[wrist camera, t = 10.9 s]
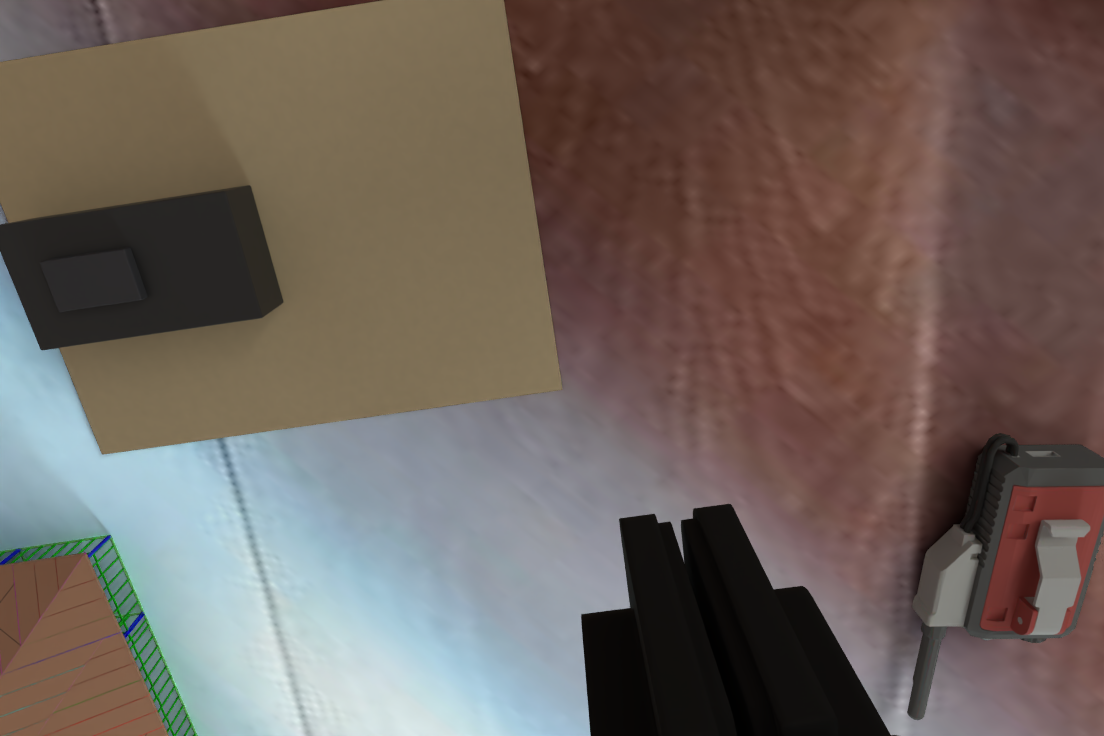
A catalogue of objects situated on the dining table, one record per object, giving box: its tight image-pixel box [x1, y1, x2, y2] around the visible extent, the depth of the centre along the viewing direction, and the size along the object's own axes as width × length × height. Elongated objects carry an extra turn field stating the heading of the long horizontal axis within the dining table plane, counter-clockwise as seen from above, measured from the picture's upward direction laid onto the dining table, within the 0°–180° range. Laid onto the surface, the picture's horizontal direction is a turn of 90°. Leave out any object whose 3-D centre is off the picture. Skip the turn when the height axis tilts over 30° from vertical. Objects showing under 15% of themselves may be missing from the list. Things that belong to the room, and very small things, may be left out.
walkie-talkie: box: [907, 433, 1104, 720], centre depth 41 cm, size 9×4×20 cm
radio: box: [0, 185, 284, 350], centre depth 34 cm, size 6×4×11 cm
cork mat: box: [0, 0, 562, 454], centre depth 35 cm, size 20×26×1 cm
